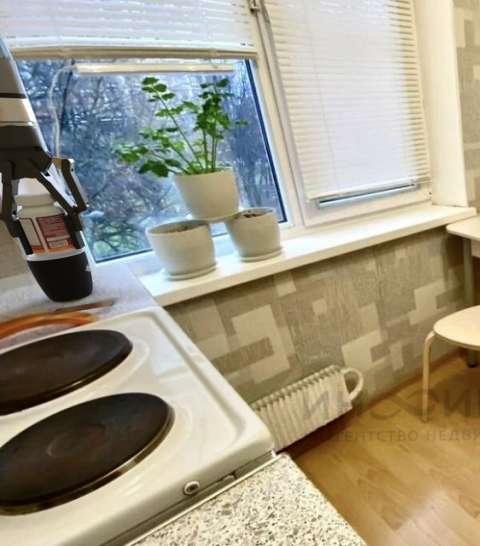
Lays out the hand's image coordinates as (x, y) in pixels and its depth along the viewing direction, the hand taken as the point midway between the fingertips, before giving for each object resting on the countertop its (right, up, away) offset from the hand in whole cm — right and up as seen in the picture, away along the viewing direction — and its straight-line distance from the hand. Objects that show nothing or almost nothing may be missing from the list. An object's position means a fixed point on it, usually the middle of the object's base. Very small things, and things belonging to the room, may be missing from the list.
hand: (56, 250), depth 82 cm
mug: (-12, -10, +14) cm, 21 cm away
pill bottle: (0, -1, 0) cm, 1 cm away
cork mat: (0, -13, +5) cm, 14 cm away
